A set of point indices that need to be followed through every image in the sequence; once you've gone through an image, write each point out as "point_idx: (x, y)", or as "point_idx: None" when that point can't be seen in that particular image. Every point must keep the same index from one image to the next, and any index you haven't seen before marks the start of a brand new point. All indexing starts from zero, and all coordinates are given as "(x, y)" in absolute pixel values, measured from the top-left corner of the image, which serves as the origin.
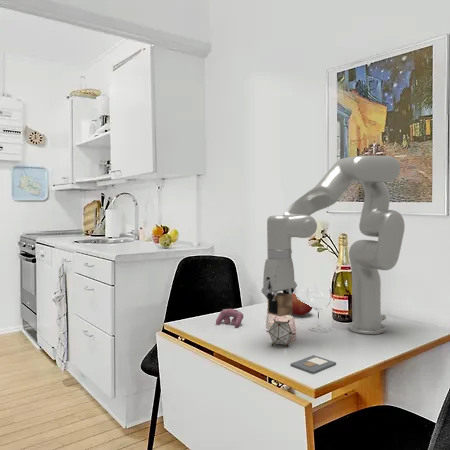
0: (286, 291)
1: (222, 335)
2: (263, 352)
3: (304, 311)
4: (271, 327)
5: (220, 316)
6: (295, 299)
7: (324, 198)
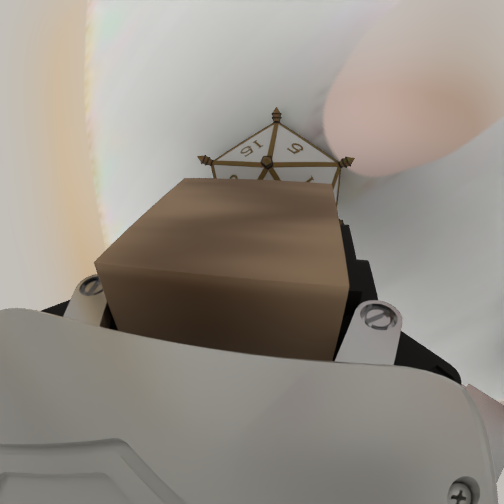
0: (389, 364)
1: None
2: (167, 185)
3: None
4: (228, 169)
5: None
6: None
7: None
